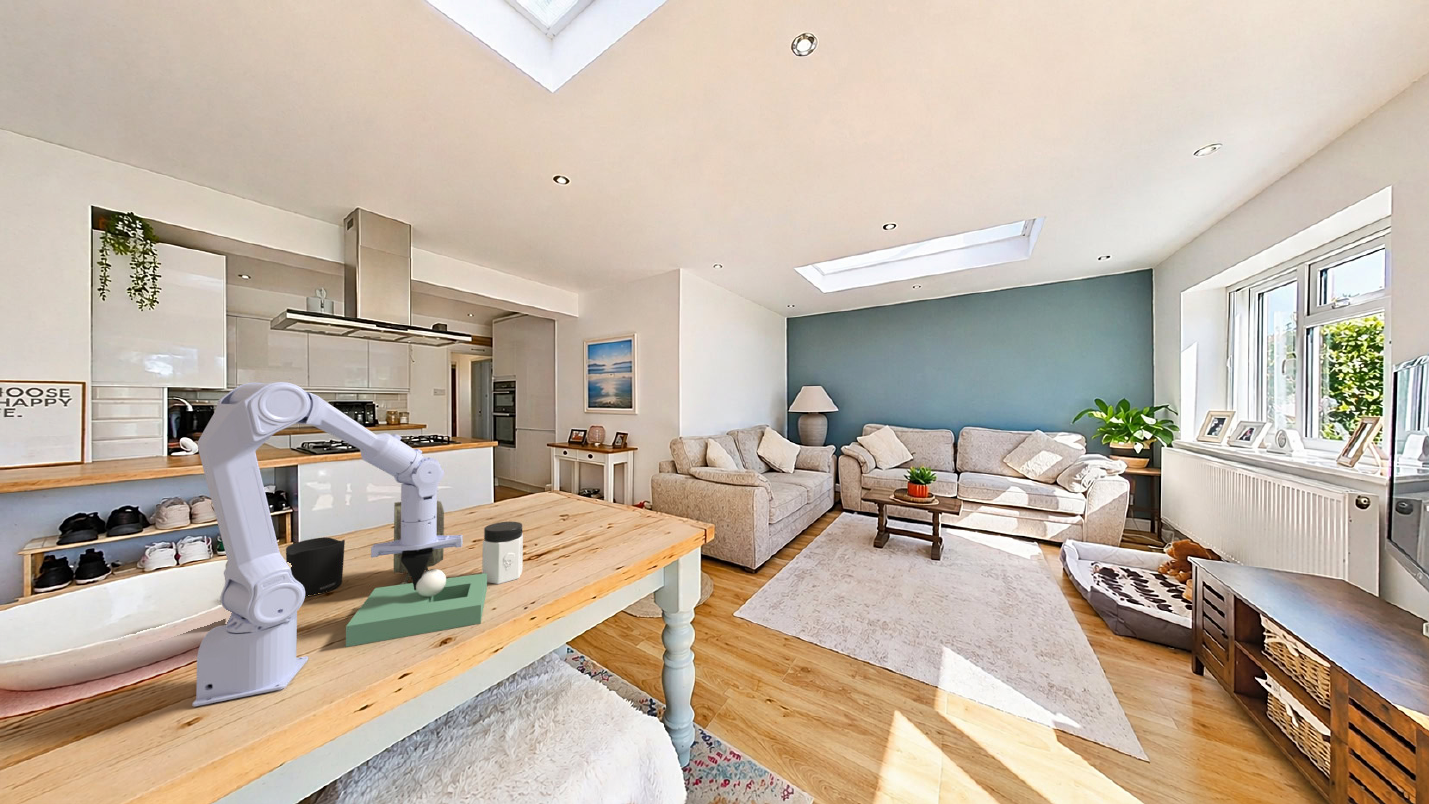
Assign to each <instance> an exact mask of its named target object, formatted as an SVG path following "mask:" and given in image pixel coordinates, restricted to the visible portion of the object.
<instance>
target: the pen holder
mask: <svg viewBox="0 0 1429 804" xmlns="http://www.w3.org/2000/svg"><path fill="white" fill-rule="evenodd" d="M345 541H346V540H345V539H343V540H338V539H335V538H333V537H332V538H331V537H327V536H324V537H317V538H316V537H315V538H310V539H306V540H305V539H304V540H301V541H297V542H294V543H291V544H290V545H287V547H286V548H285V561H286V562H289V563H291V565H292V567H291V573H292V576H293V577H294V578H295V579H296V580H297V581H298V582H300V583H301V584H302V585H303V587H304V589H305V596H308V595H314V594H318V593H322V594H324V593H323V592H326V591H329V592H331V591H333V590H335V589H337V588H338V587H340V586H339V585H341V584H342V582H343V573H344V561H345V560H344V559H345V557H344V556H345ZM337 586H338V587H337ZM336 587H337V588H336ZM334 588H335V589H334ZM332 589H333V590H332ZM330 590H331V591H330ZM326 593H327V592H326ZM318 595H319V594H318ZM314 596H315V595H314ZM308 597H309V596H308Z"/></svg>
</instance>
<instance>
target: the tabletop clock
mask: <svg viewBox="0 0 1429 804" xmlns="http://www.w3.org/2000/svg"><path fill="white" fill-rule="evenodd" d="M393 506H394V508H393V509H394V510H393V511H394V513H393V515H394V518H393V541H397V540H401V501H398V502H394V505H393ZM444 520H445V511H444V506H443V503H442V501H439V500H437V536H445V535H444V534H445V521H444ZM444 549H445V548H440V549H434V551H433V553H432V555H431V557H430V559H429V561H428V564H427V566H426V569H425V571H427V570H429V567H434V566H435V565H437V564H439V563H440V562H442V561H443V560H444ZM401 557H402V553H396V554H393V574H396V573H399V574H400V573H403V574H405V573H406V575H405V577H404V581H402V582H401V583H399V585H402V584H409V583H408V580H409V579H410V578H411V577H410V574H409V572H408V571H407V569H406V567H405V566H404V565H403V563H402V562H401ZM404 572H405V573H404Z"/></svg>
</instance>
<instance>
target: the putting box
mask: <svg viewBox="0 0 1429 804" xmlns="http://www.w3.org/2000/svg"><path fill="white" fill-rule="evenodd" d="M487 588H488V582H487V573H484V574H482V573H477V574H476V573H475V574H470V575H463V576H454V577H448V578H447V577H446V584H445V586H444V588H443V589H442V590H441V591H440V592H439V593H438V594H436V595H434V596H430V597H426V596H422V595H420V594H419V593H418V592H417V590H414V586H413V582H411V583H408V584H402V585H400V584H397V585H387V586H380V587H375V588H374V589H373V590H372V592H371V593H370V595H369V596H368V597H367V598H366V599H365V601H364V602H363V604H362V605H361V606H360V608H358V610H357V611H356V612H355V614H354V615H353V617H352V618H351V619H350V620H349V622H348V623H347V624H346V626H345V647H346V648H348V647H354V646H359V645H366V644H371V643H377V642H382V641H383V642H384V641H387V640H388V641H389V640H394V639H399V638H406V637H411V636H416V635H422V634H428V633H433V632H439V631H446V630H451V629H455V628H463V627H468V626H474V625H479V624H481V623H482V617H483V611H484V607H485V601H486V597H487V596H486V595H487V592H488V591H487V590H488V589H487Z"/></svg>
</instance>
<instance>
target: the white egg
mask: <svg viewBox="0 0 1429 804" xmlns="http://www.w3.org/2000/svg"><path fill="white" fill-rule="evenodd" d="M446 579H447V576H446V574H445V573H444V572H443V570H441V569H437V568H430V569H428V570H427V571H425V572H423V575H422V578H421V579H420V580H419V581H418V582H417V584H416V590H417V592H418V593H419V594H420V595H422V596H426V597H430V596H434V595H436V594H438V593H439V592H440V591H441V590H442V589H443V588H444V586H445V584H446Z"/></svg>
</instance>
